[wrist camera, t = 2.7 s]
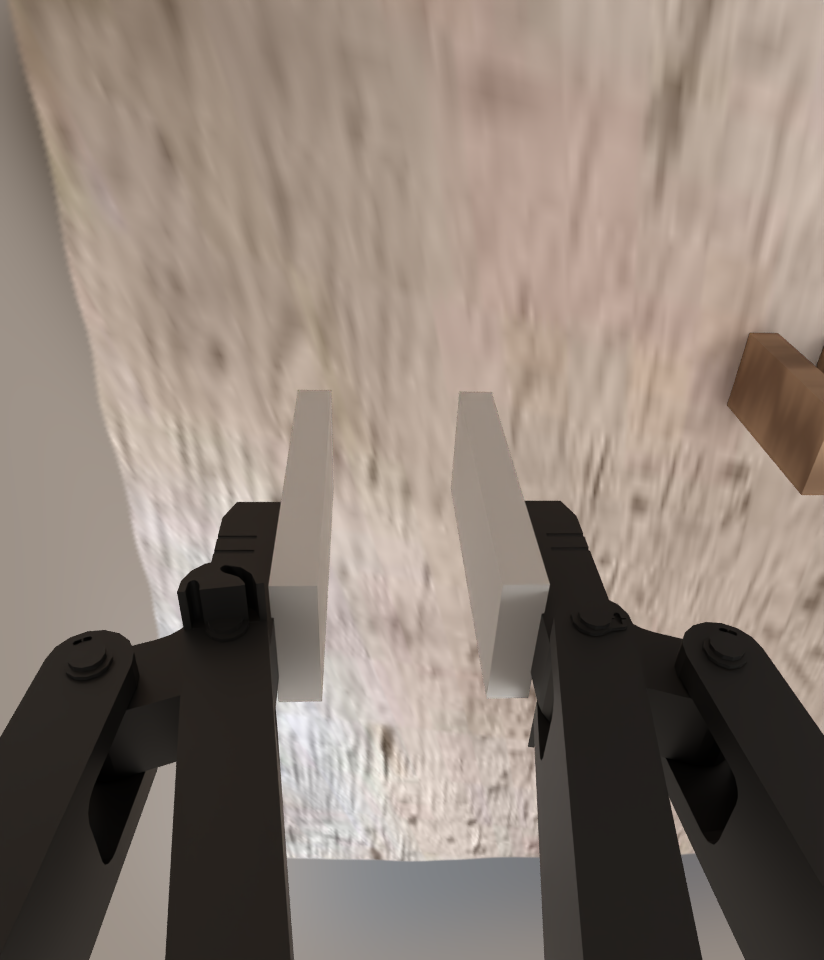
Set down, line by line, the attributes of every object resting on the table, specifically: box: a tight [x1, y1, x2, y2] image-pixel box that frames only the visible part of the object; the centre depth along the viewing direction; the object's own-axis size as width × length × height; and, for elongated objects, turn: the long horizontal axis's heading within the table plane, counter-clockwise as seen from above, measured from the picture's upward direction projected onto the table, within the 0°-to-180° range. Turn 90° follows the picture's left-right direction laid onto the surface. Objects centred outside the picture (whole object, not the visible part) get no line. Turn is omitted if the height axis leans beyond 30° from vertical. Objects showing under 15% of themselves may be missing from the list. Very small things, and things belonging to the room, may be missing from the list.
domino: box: [727, 333, 824, 495], centre depth 43 cm, size 5×2×10 cm, turn 178°
